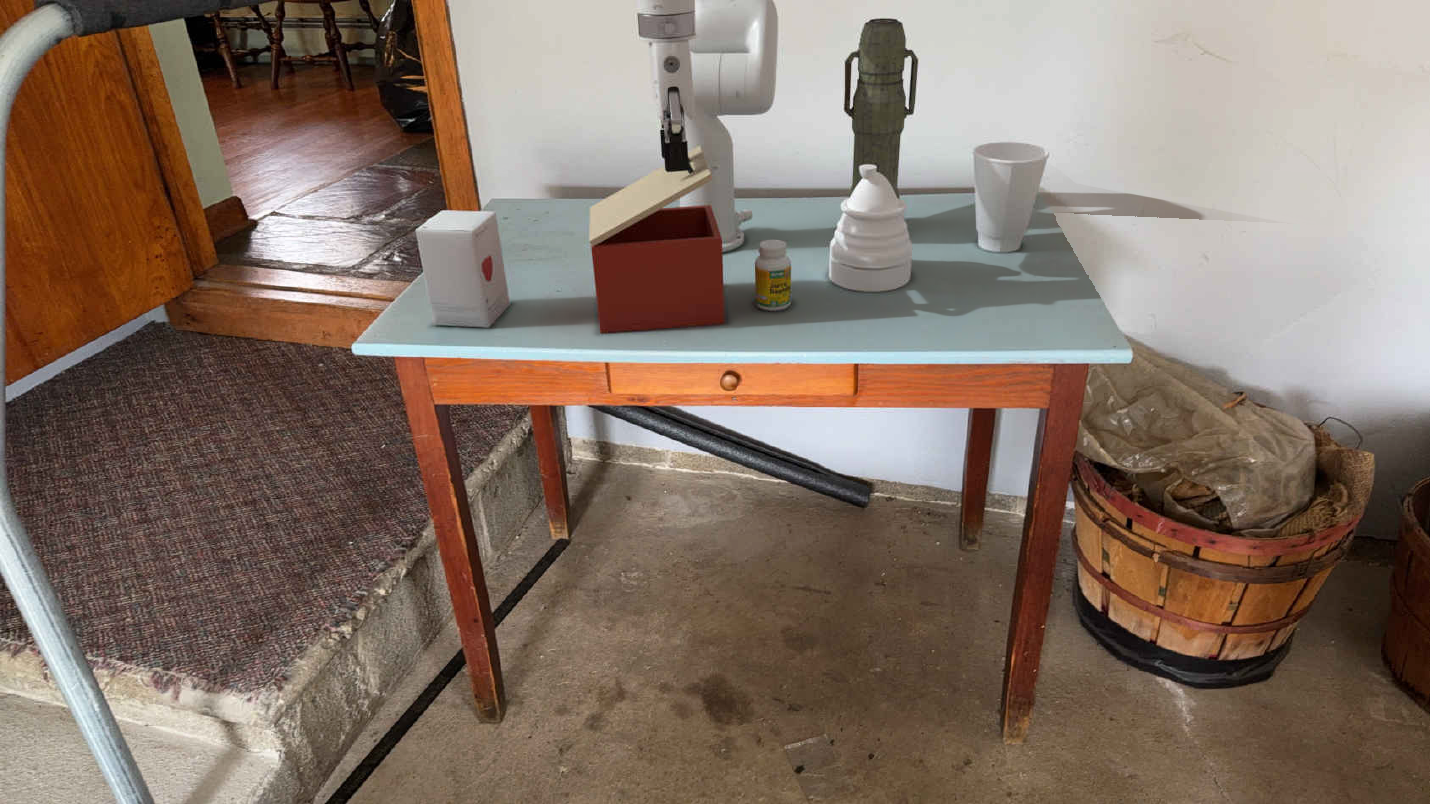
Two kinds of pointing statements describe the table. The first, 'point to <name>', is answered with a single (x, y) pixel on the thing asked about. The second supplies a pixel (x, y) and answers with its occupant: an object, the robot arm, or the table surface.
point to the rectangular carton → (463, 268)
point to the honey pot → (871, 238)
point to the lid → (646, 197)
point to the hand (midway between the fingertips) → (674, 162)
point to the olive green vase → (879, 98)
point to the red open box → (661, 272)
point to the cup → (1006, 192)
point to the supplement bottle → (773, 276)
